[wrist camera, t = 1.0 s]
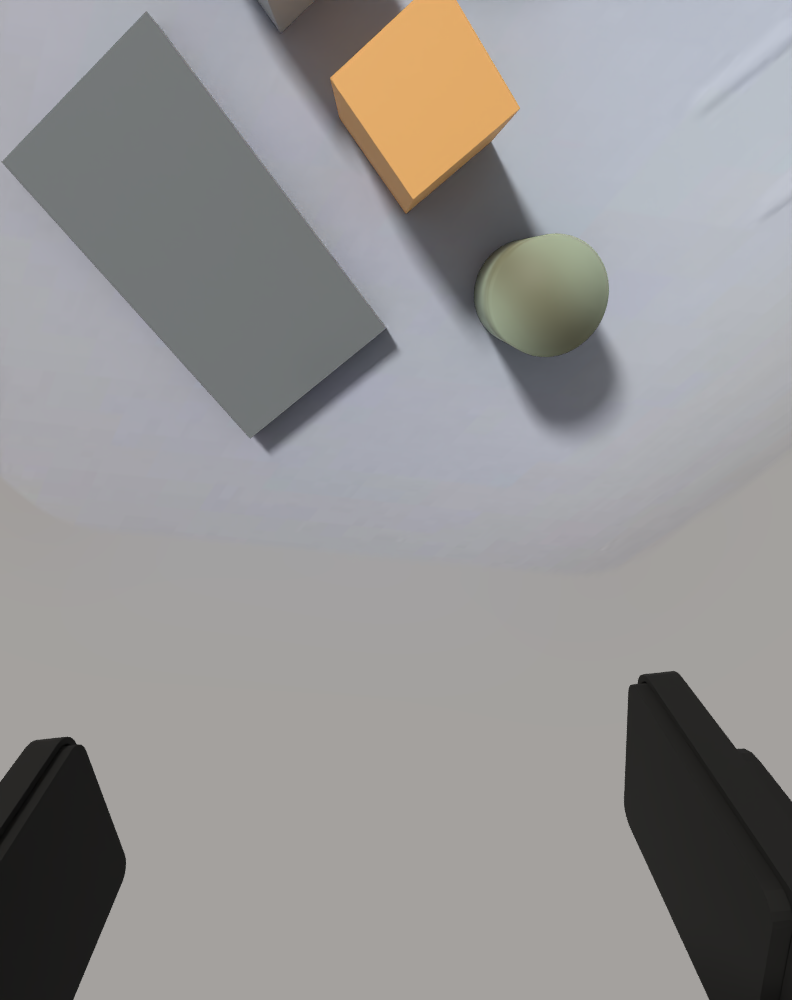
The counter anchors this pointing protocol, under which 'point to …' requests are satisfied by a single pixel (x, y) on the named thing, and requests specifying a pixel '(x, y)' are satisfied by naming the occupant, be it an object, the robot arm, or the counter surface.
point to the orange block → (422, 98)
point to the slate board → (193, 229)
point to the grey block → (284, 11)
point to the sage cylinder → (542, 294)
